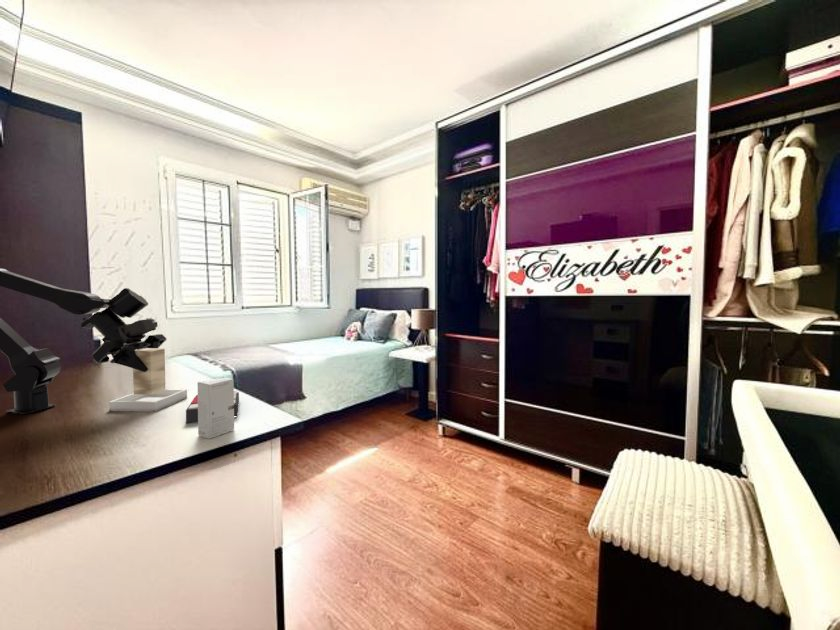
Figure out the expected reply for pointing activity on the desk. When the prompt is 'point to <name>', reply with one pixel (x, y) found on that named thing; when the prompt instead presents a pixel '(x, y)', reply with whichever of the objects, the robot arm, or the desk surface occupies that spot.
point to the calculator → (193, 409)
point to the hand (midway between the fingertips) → (154, 368)
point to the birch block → (150, 371)
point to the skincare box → (215, 407)
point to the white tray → (148, 401)
